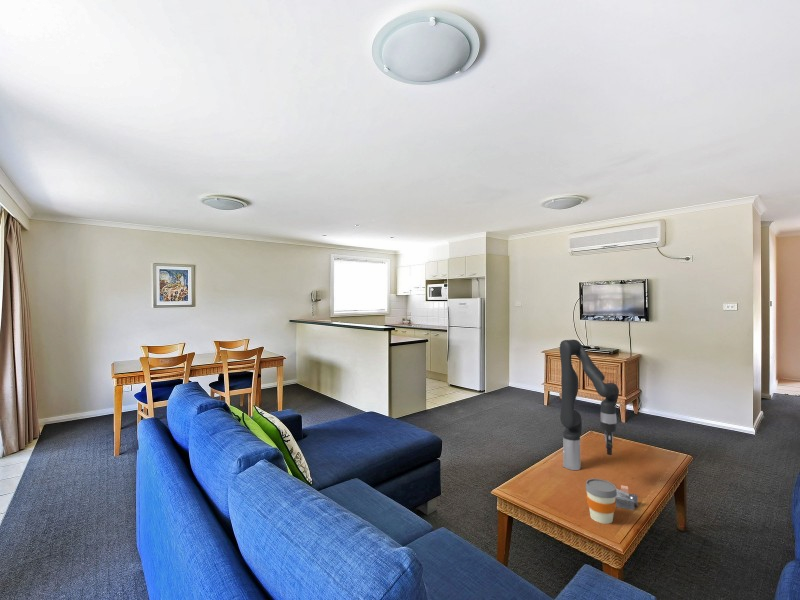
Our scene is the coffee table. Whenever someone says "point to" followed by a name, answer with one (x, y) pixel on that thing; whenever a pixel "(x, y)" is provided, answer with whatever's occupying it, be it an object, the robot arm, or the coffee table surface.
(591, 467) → the coffee table surface
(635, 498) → the arm
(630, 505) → the tongs jaw
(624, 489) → the salmon pink block
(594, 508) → the reusable coffee cup
